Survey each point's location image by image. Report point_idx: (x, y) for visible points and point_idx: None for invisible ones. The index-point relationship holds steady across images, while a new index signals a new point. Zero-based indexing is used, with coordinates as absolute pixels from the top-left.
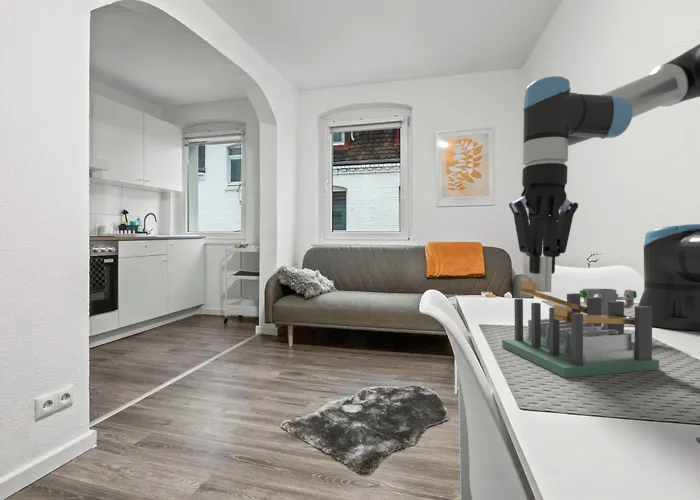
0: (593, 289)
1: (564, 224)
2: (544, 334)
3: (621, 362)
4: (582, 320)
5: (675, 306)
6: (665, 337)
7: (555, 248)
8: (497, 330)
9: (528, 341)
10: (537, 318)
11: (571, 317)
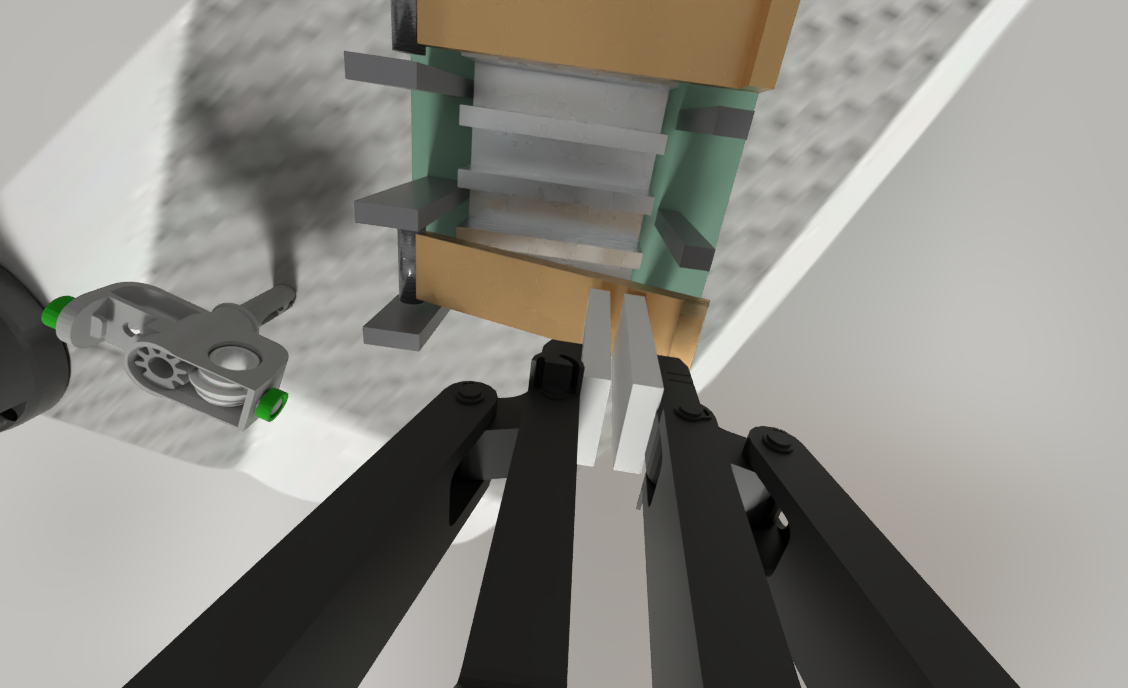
0: (204, 408)
1: (337, 607)
2: (620, 239)
3: None
4: None
5: None
6: (109, 217)
7: (538, 413)
8: None
9: (634, 280)
10: (686, 232)
11: None
